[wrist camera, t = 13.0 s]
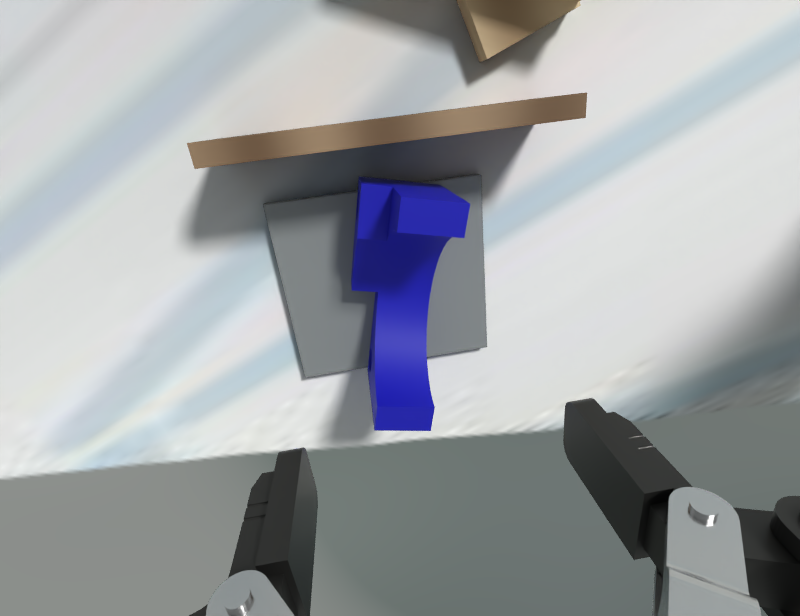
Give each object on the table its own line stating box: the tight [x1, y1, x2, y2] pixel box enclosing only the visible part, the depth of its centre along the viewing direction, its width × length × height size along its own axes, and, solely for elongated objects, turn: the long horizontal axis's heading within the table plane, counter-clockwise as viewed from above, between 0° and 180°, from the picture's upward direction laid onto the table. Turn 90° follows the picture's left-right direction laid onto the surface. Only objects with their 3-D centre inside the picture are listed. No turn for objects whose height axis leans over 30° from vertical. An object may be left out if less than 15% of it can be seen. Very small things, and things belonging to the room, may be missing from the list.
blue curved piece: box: [351, 176, 470, 431], centre depth 23 cm, size 12×4×6 cm, turn 173°
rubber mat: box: [263, 174, 487, 378], centre depth 26 cm, size 12×11×1 cm
